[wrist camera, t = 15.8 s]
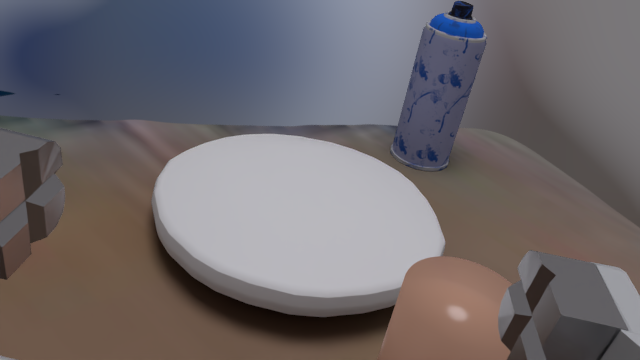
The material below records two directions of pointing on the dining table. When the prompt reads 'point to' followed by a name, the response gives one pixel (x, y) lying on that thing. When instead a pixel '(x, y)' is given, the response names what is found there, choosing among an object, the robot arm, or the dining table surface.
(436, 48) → the aerosol can
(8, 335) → the dining table surface
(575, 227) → the dining table surface
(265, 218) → the plate
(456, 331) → the salmon pink cylinder
